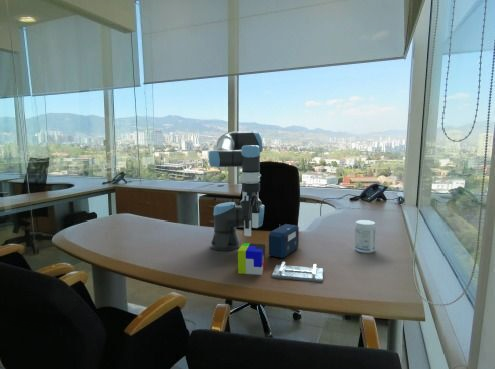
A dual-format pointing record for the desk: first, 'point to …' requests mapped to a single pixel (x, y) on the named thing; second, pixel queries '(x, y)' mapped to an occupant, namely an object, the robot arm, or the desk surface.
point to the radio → (283, 240)
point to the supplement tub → (365, 236)
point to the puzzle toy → (251, 258)
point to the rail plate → (298, 273)
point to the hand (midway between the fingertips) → (251, 231)
